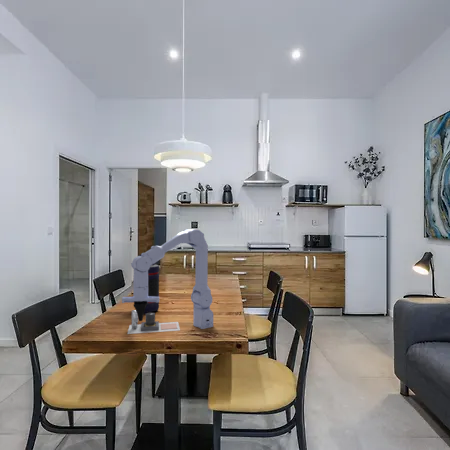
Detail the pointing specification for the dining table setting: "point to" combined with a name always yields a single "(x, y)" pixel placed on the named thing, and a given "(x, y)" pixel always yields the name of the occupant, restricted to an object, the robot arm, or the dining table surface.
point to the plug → (150, 319)
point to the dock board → (150, 328)
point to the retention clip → (134, 319)
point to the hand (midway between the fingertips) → (140, 320)
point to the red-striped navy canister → (153, 287)
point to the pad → (169, 326)
